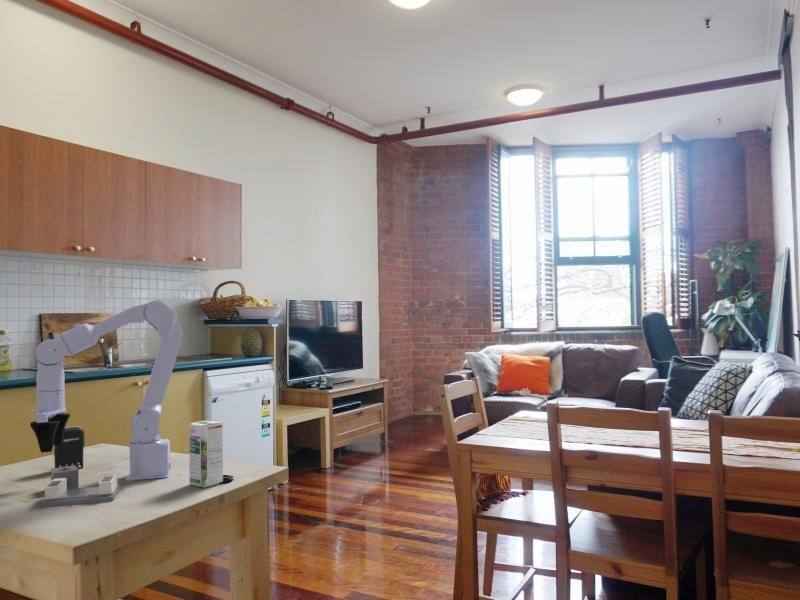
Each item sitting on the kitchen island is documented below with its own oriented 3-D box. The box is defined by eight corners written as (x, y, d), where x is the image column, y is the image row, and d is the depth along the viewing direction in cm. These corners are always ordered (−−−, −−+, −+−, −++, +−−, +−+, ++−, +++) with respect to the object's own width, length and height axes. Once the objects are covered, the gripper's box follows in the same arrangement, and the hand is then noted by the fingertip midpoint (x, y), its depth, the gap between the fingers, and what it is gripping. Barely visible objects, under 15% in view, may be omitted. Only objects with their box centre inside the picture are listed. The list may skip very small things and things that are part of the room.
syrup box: (188, 484, 142) (187, 423, 142) (209, 478, 147) (208, 419, 147) (203, 488, 139) (202, 425, 139) (224, 482, 143) (223, 421, 144)
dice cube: (53, 495, 136) (53, 473, 136) (51, 490, 140) (51, 468, 140) (78, 491, 139) (78, 469, 139) (75, 486, 143) (75, 465, 143)
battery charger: (56, 475, 153) (55, 430, 153) (52, 472, 156) (52, 428, 156) (86, 470, 157) (85, 426, 158) (82, 467, 160) (82, 424, 160)
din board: (120, 489, 139) (120, 483, 139) (113, 501, 130) (113, 494, 130) (53, 495, 135) (53, 489, 135) (40, 508, 127) (40, 501, 127)
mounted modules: (117, 484, 138) (117, 472, 138) (111, 493, 131) (111, 481, 131) (54, 490, 135) (54, 478, 135) (44, 499, 128) (44, 486, 128)
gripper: (41, 387, 147) (41, 443, 147) (21, 395, 133) (21, 456, 133) (73, 386, 149) (73, 441, 149) (56, 393, 135) (57, 454, 135)
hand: (51, 448), depth 141 cm, fingers open, 7 cm apart
